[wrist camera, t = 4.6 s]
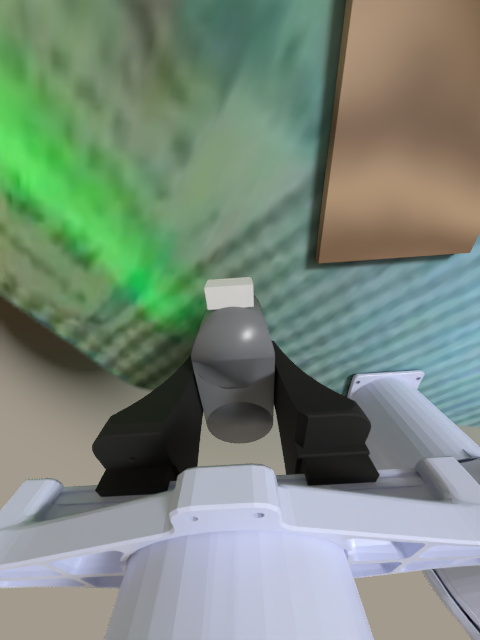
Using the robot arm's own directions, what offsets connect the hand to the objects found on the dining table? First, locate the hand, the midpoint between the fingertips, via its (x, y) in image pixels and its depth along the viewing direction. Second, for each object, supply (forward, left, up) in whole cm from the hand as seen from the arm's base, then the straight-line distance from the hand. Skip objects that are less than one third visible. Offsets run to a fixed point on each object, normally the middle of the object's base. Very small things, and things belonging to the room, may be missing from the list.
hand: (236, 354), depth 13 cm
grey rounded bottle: (0, 0, -1) cm, 1 cm away
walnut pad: (+12, -13, -5) cm, 18 cm away
